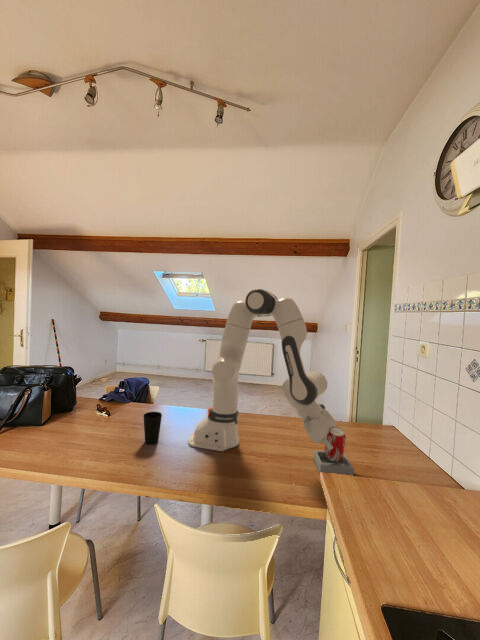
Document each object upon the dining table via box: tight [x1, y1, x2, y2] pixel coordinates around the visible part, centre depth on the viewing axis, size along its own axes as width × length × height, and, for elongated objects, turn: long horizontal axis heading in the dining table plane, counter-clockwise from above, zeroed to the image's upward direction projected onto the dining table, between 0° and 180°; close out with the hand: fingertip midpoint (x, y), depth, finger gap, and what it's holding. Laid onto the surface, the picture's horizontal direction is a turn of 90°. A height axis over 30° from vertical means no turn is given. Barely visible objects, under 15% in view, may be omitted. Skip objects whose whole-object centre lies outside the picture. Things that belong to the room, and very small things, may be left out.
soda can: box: [324, 426, 347, 462], centre depth 114 cm, size 7×7×12 cm
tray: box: [313, 449, 355, 476], centre depth 113 cm, size 12×12×4 cm
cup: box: [143, 411, 163, 446], centre depth 128 cm, size 8×8×12 cm
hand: (335, 444), depth 112 cm, fingers open, 7 cm apart
